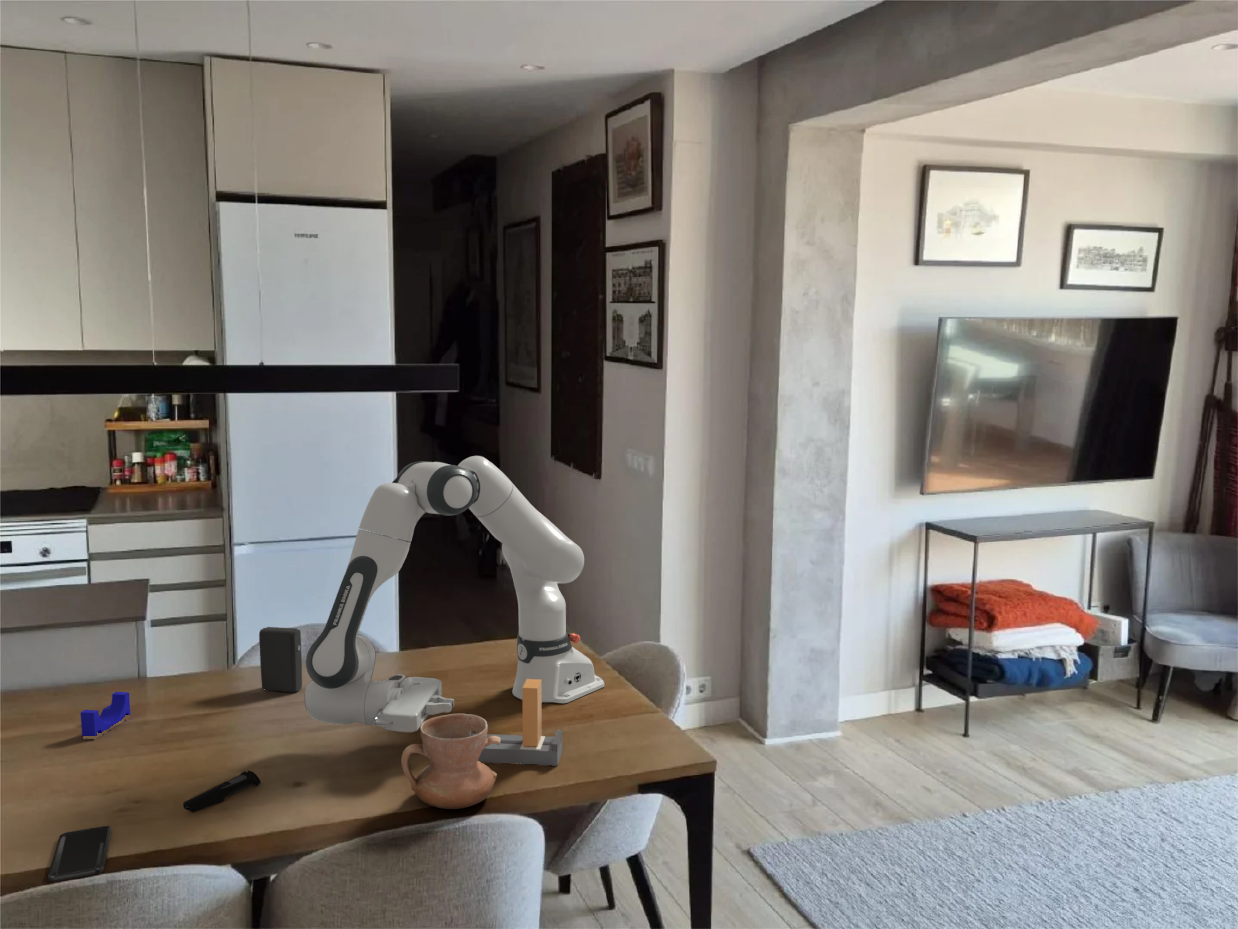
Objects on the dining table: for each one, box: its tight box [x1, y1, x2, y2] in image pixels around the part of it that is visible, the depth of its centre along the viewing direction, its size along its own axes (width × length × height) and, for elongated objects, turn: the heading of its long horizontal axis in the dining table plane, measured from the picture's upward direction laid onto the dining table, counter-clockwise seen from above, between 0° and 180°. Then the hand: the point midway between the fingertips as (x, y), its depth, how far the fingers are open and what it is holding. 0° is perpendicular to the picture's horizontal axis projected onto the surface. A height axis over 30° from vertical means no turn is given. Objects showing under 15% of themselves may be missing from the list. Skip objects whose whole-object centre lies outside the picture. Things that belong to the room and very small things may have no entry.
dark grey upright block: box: [258, 626, 303, 693], centre depth 238 cm, size 9×4×15 cm, turn 82°
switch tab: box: [521, 679, 543, 746], centre depth 202 cm, size 3×5×12 cm, turn 175°
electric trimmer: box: [182, 770, 262, 813], centre depth 185 cm, size 4×16×3 cm, turn 150°
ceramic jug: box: [400, 713, 501, 810], centre depth 184 cm, size 18×14×14 cm
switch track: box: [471, 729, 563, 767], centre depth 203 cm, size 20×7×4 cm, turn 85°
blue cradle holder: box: [79, 691, 131, 737], centre depth 216 cm, size 12×4×6 cm, turn 172°
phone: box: [47, 825, 112, 883], centre depth 165 cm, size 8×1×15 cm
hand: (452, 705), depth 203 cm, fingers closed
